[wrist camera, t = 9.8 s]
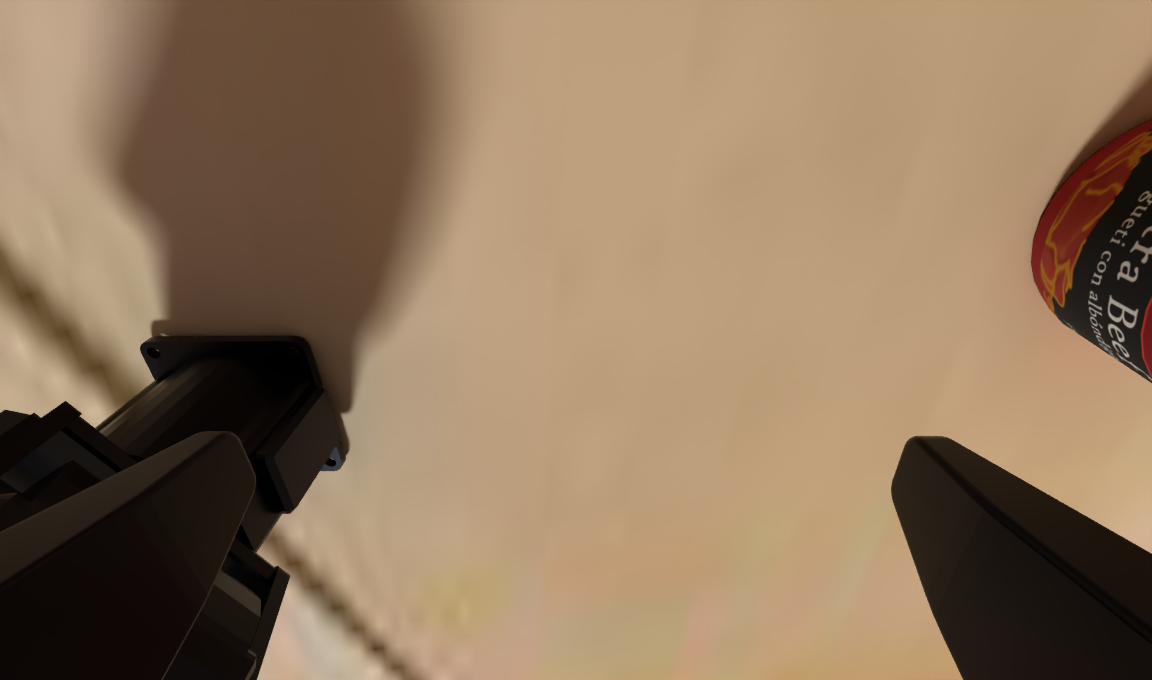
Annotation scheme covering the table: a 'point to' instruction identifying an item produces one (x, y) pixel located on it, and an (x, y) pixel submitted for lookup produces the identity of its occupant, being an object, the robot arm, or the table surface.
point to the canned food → (1103, 250)
